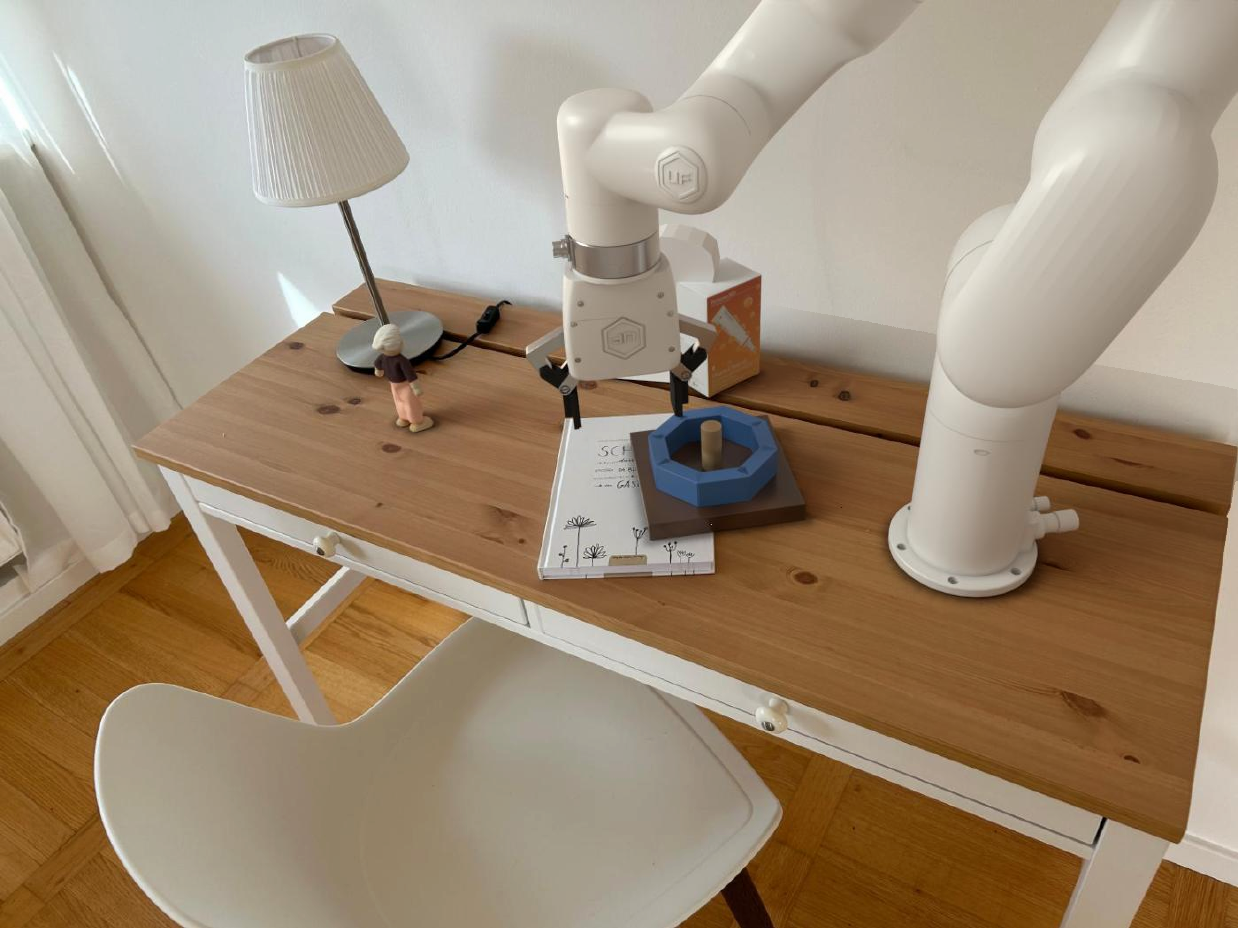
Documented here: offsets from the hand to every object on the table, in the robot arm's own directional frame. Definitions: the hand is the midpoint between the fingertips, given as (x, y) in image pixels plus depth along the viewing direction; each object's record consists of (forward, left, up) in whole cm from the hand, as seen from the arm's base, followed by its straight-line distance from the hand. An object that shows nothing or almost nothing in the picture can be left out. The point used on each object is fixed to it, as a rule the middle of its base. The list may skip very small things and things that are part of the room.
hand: (626, 415), depth 86 cm
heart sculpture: (-5, -22, -9) cm, 24 cm away
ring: (-8, 0, -7) cm, 11 cm away
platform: (-8, 0, -9) cm, 12 cm away
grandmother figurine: (+24, -18, -10) cm, 31 cm away
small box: (-12, -19, -10) cm, 25 cm away
